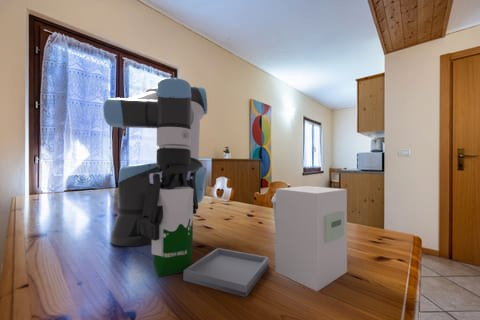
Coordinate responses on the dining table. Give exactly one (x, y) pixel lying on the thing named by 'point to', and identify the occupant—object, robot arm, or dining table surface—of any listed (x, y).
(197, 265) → the tray
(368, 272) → the dining table surface
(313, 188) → the box
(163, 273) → the milk carton
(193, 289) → the dining table surface
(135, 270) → the dining table surface
